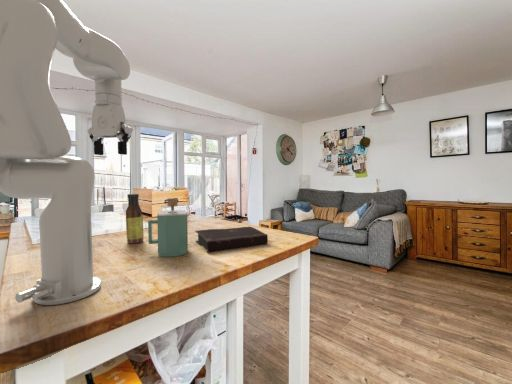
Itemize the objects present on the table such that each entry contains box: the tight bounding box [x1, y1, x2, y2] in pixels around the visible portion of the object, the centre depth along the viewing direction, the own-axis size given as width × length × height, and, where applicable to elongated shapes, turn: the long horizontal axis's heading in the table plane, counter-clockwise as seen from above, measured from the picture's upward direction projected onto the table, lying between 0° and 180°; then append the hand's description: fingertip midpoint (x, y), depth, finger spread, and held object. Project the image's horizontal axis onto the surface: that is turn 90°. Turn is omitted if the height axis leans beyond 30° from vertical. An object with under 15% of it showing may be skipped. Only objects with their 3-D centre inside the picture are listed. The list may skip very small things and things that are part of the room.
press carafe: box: [147, 209, 189, 258], centre depth 88 cm, size 10×13×14 cm
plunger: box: [166, 197, 178, 213], centre depth 88 cm, size 7×7×15 cm
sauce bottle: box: [125, 193, 144, 244], centre depth 102 cm, size 6×6×20 cm
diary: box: [195, 226, 269, 254], centre depth 102 cm, size 19×25×5 cm
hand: (110, 154), depth 83 cm, fingers open, 9 cm apart
